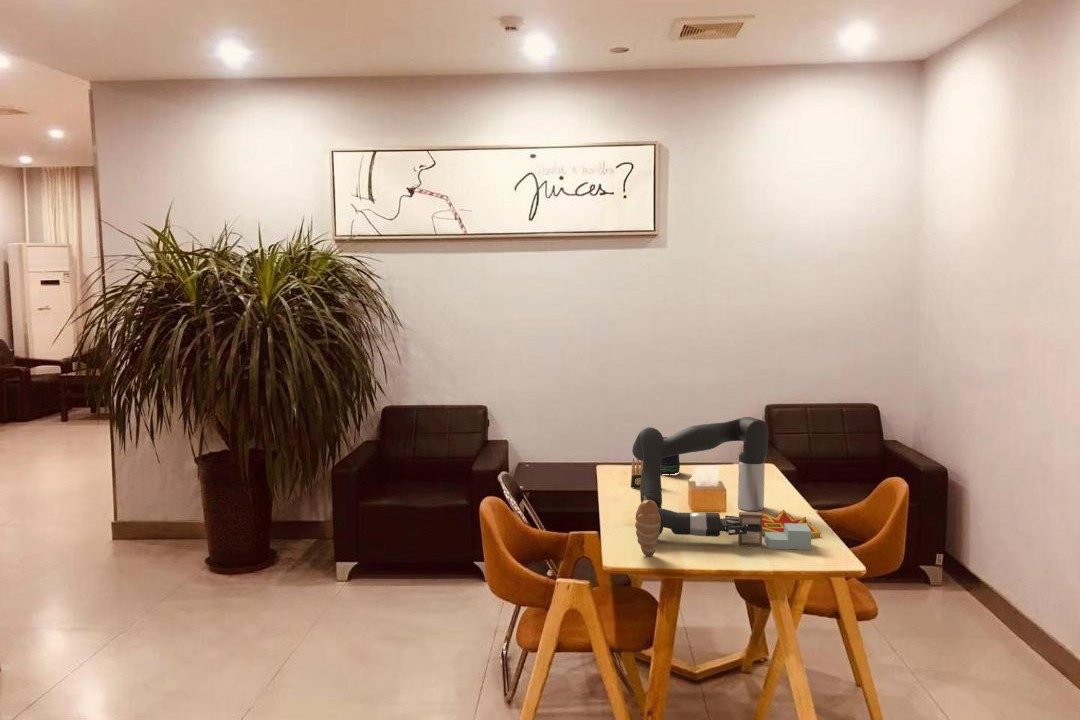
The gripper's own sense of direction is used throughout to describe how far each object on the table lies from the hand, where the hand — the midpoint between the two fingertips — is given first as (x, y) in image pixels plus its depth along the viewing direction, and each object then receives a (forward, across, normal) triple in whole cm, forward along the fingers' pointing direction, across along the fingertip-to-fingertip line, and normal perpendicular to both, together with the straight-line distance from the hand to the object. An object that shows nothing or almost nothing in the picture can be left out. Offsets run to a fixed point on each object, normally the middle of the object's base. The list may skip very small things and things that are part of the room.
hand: (759, 526), depth 271 cm
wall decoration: (+11, -21, -7) cm, 25 cm away
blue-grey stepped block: (+8, 0, -6) cm, 10 cm away
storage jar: (-27, -95, -6) cm, 99 cm away
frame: (-3, 0, -6) cm, 7 cm away
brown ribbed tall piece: (-35, +15, -6) cm, 38 cm away
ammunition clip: (-37, -70, -6) cm, 79 cm away
